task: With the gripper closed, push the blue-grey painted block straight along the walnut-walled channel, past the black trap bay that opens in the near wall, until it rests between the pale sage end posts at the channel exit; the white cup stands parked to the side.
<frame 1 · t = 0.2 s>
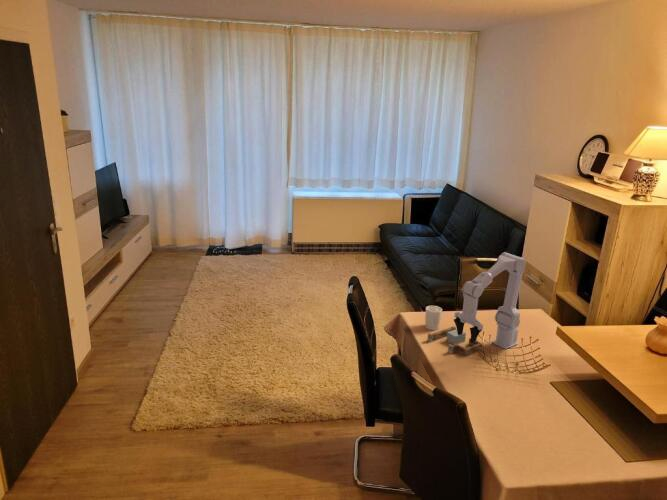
hand: (466, 338, 213), 10 cm above the table, fingers open, 7 cm apart
block: (455, 341, 232), on the table
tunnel: (452, 341, 231), on the table
white cup: (432, 327, 245), on the table
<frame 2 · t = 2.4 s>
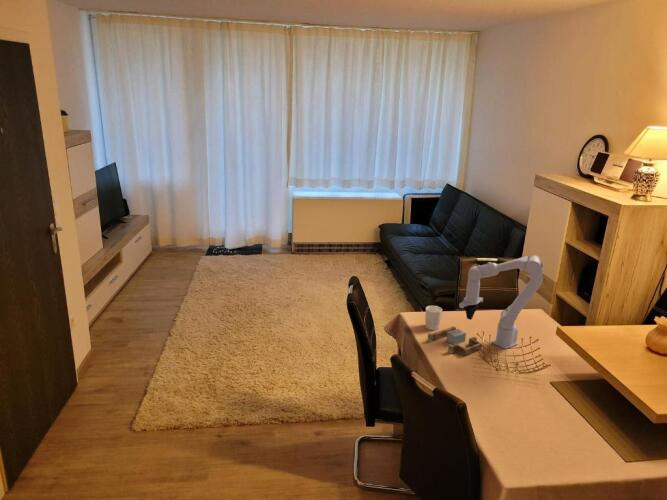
hand: (469, 318, 234), 9 cm above the table, fingers closed
nothing on the table moved.
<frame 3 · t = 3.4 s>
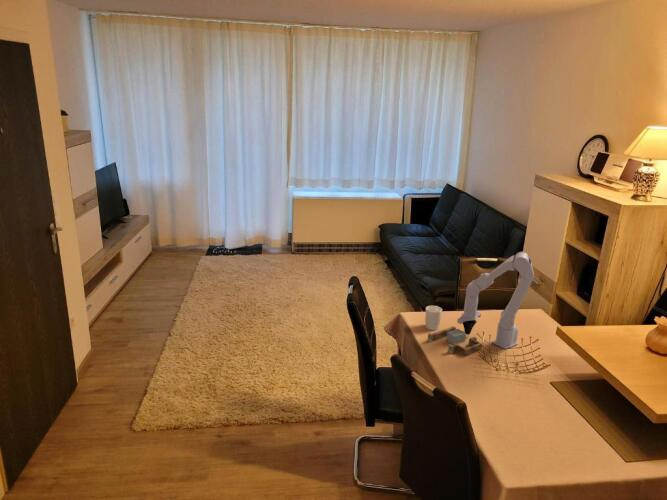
hand: (467, 333, 236), 2 cm above the table, fingers closed
nothing on the table moved.
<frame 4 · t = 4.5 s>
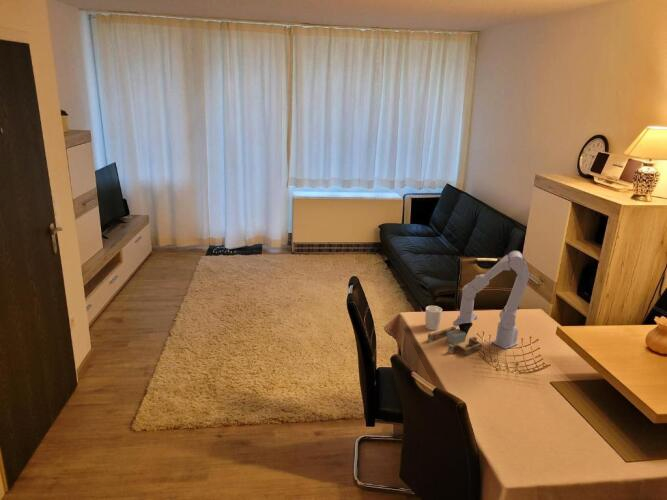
hand: (463, 336, 235), 1 cm above the table, fingers closed
block: (455, 341, 232), on the table, touching gripper
everything else where it was.
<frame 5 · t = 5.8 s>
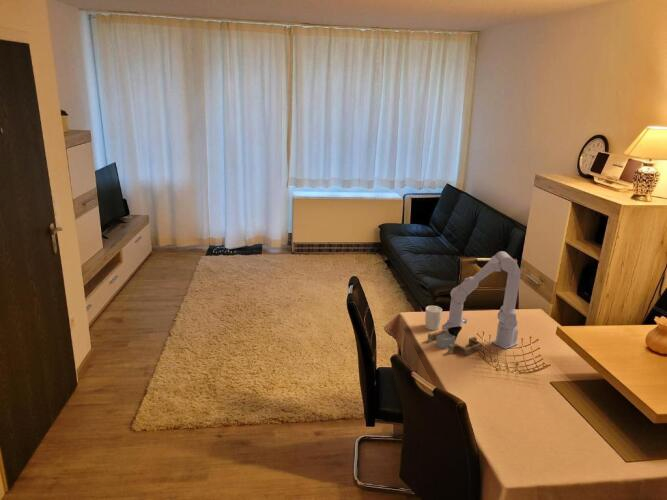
hand: (452, 340, 230), 1 cm above the table, fingers closed
block: (445, 345, 228), on the table, touching gripper
everything else where it was.
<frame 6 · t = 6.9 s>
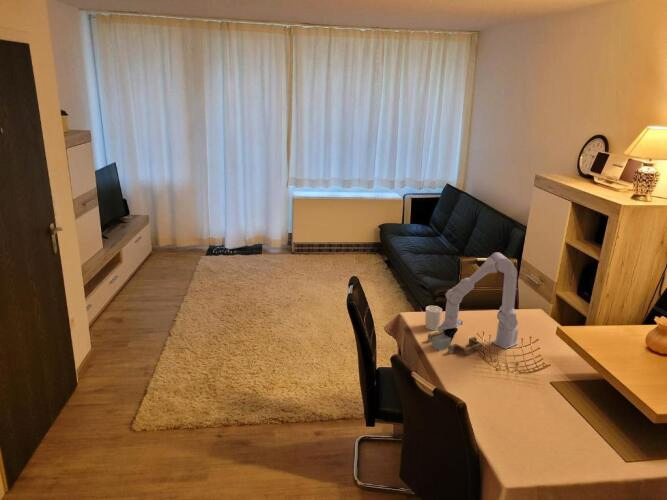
hand: (448, 341, 229), 1 cm above the table, fingers closed
block: (440, 346, 226), on the table, touching gripper
everything else where it was.
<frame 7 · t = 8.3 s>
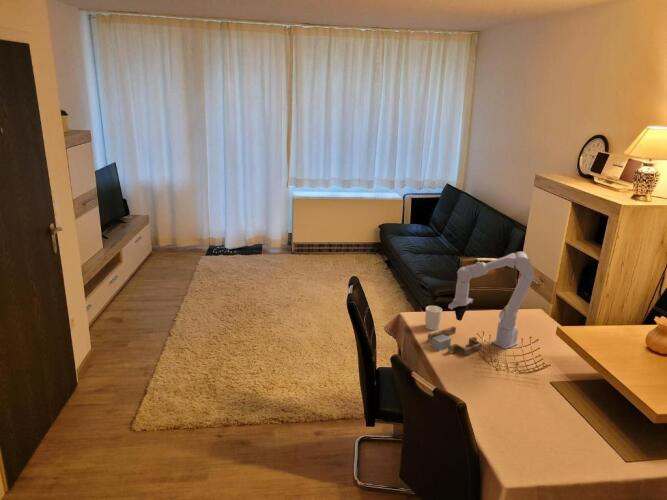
hand: (458, 319, 232), 9 cm above the table, fingers closed
block: (440, 347, 226), on the table
everything else where it was.
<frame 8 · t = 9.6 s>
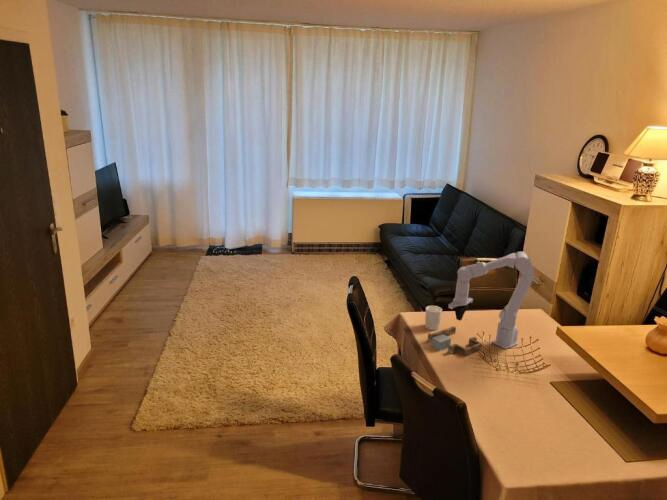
hand: (458, 319, 232), 9 cm above the table, fingers closed
nothing on the table moved.
at the end: block inside the target area (0.2 cm from its centre), on the table; block tilted 0° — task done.
